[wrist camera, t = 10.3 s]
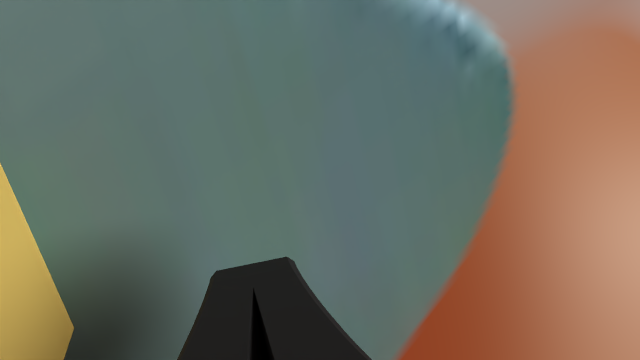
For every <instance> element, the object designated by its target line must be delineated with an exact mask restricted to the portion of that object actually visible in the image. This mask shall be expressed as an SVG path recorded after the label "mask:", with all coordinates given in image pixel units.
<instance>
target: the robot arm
mask: <svg viewBox="0 0 640 360" xmlns="http://www.w3.org/2000/svg"><path fill="white" fill-rule="evenodd" d="M177 360H372V359H371V358H370V357H369V356H368V355H367V354H366V353H365V352H364V351H363V350H362V349H361V348H360V347H359V346H358V345H357V344H356V343H355V342H354V341H353V340H352V339H351V338H350V337H349V336H348V334H347V333H346V332H345V331H344V330H343V329H342V328H341V326H340V325H339V324H338V323H337V322H336V321H335V319H334V318H333V317H332V316H331V315H330V314H329V312H328V311H327V310H326V309H325V308H324V306H323V305H322V304H321V303H320V301H319V300H318V299H317V297H316V296H315V295H314V293H313V292H312V290H311V289H310V288H309V286H308V285H307V283H306V282H305V280H304V279H303V277H302V275H301V274H300V272H299V270H298V268H297V267H296V265H295V262H294V261H293V260H291V259H290V258H288V257H283V258H278V259H273V260H268V261H263V262H258V263H253V264H248V265H243V266H238V267H234V268H229V269H224V270H219V271H216V272H215V273H214V275H213V276H212V277H211V279H210V283H209V286H208V289H207V292H206V294H205V297H204V300H203V303H202V305H201V308H200V310H199V313H198V315H197V317H196V320H195V322H194V324H193V327H192V329H191V331H190V333H189V335H188V338H187V340H186V342H185V344H184V346H183V348H182V350H181V352H180V355H179V357H178V359H177Z"/></svg>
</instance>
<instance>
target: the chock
mask: <svg viewBox="0 0 640 360" xmlns="http://www.w3.org/2000/svg"><path fill="white" fill-rule="evenodd" d="M73 330H74V327H73V324H72V322H71V320H70V318H69V315H68V313H67V311H66V309H65V306H64V304H63V302H62V300H61V298H60V295H59V293H58V291H57V289H56V286H55V284H54V282H53V280H52V277H51V275H50V273H49V271H48V269H47V266H46V264H45V262H44V260H43V257H42V255H41V253H40V251H39V249H38V246H37V244H36V242H35V240H34V237H33V235H32V233H31V231H30V228H29V226H28V224H27V222H26V220H25V217H24V215H23V213H22V211H21V208H20V206H19V204H18V202H17V199H16V197H15V195H14V193H13V191H12V188H11V186H10V184H9V182H8V179H7V177H6V175H5V173H4V171H3V168H2V166H1V164H0V360H64V357H65V354H66V351H67V348H68V345H69V342H70V339H71V336H72V333H73Z"/></svg>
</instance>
